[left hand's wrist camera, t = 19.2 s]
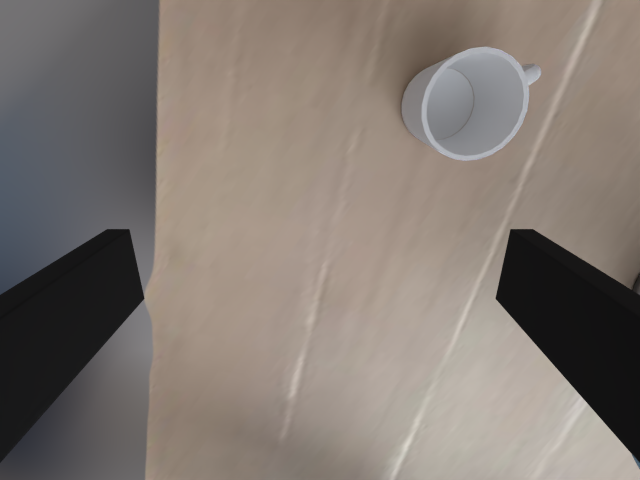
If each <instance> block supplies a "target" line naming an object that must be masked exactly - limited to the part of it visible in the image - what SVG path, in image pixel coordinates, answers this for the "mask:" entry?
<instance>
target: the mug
mask: <svg viewBox="0 0 640 480" xmlns="http://www.w3.org/2000/svg"><path fill="white" fill-rule="evenodd" d="M540 75H541V69H540V67H539V66H538V65H535V64H528V65H524V66H521V65H520V64H519V63H518V62H517V61H516V60H515V59H514V58H513V56H511V55H509V54H507V53H506V52H504V51H502V50H500V49H495V48H490V47H478V48H470V49H468V50H465V51H463V52H460V53H458V54H455V55H453V56H451V57H449V58H447V59H445V60H443V61H440V62H438V63H436V64H434V65H432V66H430V67H428V68H426V69H424V70H422V71H421V72H420V73H418V74H417V75H415V77H414V78H413V79H412V80H411V81H410V83H409V84H408V86H407V88H406V90H405V92H404V94H403V98H402V102H401V114H402V118H403V122H404V124H405V126H406V127H407V129H408V131H409V132H410V133H411V134H412V135H413V136H415V137H416V138H418V139H419V140H421V141H422V142H424V143H425V144H427V145H429V146H430V147H432V148H433V149H435V150H436V151H438V152H440V153H442V154H444V155H446V156H448V157H450V158H452V159H457V160H463V161H468V160H478V159H481V158H484V157H487V156H489V155H492V154H493V153H495V152H496V151H498V150H500V149H501V148H503V147H504V146H505V145H506V144H507V143H508V142H509V141H510V140H511V139H512V138H513V137H514V136H515V134H516V133H517V131H518V129H519V128H520V126H521V125H522V123H523V120H524V117H525V115H526V112H527V109H528V101H529V88H528V85H530V84H532V83H533V82H535V81H536V80H537V79H538V78H539V77H540Z"/></svg>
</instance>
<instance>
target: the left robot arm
mask: <svg viewBox="0 0 640 480" xmlns="http://www.w3.org/2000/svg"><path fill="white" fill-rule="evenodd" d="M143 300H144V295H143V290H142V285H141V281H140V276H139V272H138V267H137V263H136V258H135V253H134V248H133V244H132V239H131V235H130V230H129V229H107V230H105V231H104V232H102V233H100V234H99V235H97V236H95V237H94V238H92V239H91V240H89V241H87V242H86V243H84V244H82V245H81V246H79V247H77V248H76V249H74V250H73V251H71V252H69V253H68V254H66V255H64V256H63V257H61V258H60V259H58V260H56V261H55V262H53V263H51V264H50V265H48V266H47V267H45V268H43V269H42V270H40V271H39V272H37V273H35V274H34V275H32V276H30V277H29V278H27V279H25V280H24V281H22V282H21V283H19V284H17V285H16V286H14V287H12V288H11V289H9V290H8V291H6V292H4V293H3V294H1V295H0V462H1V461H2V460H3V459H4V458H5V457H6V456H7V454H8V453H9V452H10V451H11V450H12V449H13V448H14V447H15V445H16V444H17V443H18V442H19V441H20V440H21V439H22V437H23V436H24V435H25V434H26V433H27V432H28V431H29V429H30V428H31V427H32V426H33V425H34V424H35V423H36V421H37V420H38V419H39V418H40V417H41V416H42V415H43V413H44V412H45V411H46V410H47V409H48V408H49V407H50V405H51V404H52V403H53V402H54V401H55V400H56V399H57V397H58V396H59V395H60V394H61V393H62V392H63V391H64V389H65V388H66V387H67V386H68V385H69V384H70V383H71V382H72V380H73V379H74V378H75V377H76V376H77V375H78V374H79V372H80V371H81V370H82V369H83V368H84V367H85V366H86V364H87V363H88V362H89V361H90V360H91V359H92V358H93V357H94V355H95V354H96V353H97V352H98V351H99V350H100V349H101V347H102V346H103V345H104V344H105V343H106V342H107V341H108V339H109V338H110V337H111V336H112V335H113V334H114V333H115V331H116V330H117V329H118V328H119V327H120V326H121V325H122V323H123V322H124V321H125V320H126V319H127V318H128V317H129V315H130V314H131V313H132V312H133V311H134V310H135V309H136V308H137V306H138V305H139V304H140V303H141V302H142V301H143ZM496 300H497V301H498V302H499V303H500V304H501V305H502V306H503V308H504V309H505V310H506V311H507V312H508V313H509V314H510V315H511V317H512V318H513V319H514V320H515V321H516V322H517V323H518V325H519V326H520V327H521V328H522V329H523V330H524V331H525V333H526V334H527V335H528V336H529V337H530V338H531V339H532V341H533V342H534V343H535V344H536V345H537V346H538V347H539V349H540V350H541V351H542V352H543V353H544V354H545V355H546V357H547V358H548V359H549V360H550V361H551V362H552V363H553V364H554V366H555V367H556V368H557V369H558V370H559V371H560V372H561V374H562V375H563V376H564V377H565V378H566V379H567V380H568V382H569V383H570V384H571V385H572V386H573V387H574V388H575V390H576V391H577V392H578V393H579V394H580V395H581V396H582V398H583V399H584V400H585V401H586V402H587V403H588V404H589V405H590V407H591V408H592V409H593V410H594V411H595V412H596V413H597V415H598V416H599V417H600V418H601V419H602V420H603V421H604V423H605V424H606V425H607V426H608V427H609V428H610V429H611V431H612V432H613V433H614V434H615V435H616V436H617V437H618V439H619V440H620V441H621V442H622V443H623V444H624V445H625V447H626V448H627V449H628V450H629V451H630V452H631V453H632V456H633V458H634V460H635V462H636V464H637V465H638V467H639V469H640V275H639V277H638V279H637V281H636V283H635V285H634V288H633V291H632V290H631V289H629V288H628V287H626V286H624V285H623V284H621V283H619V282H618V281H616V280H615V279H613V278H611V277H610V276H608V275H606V274H605V273H603V272H602V271H600V270H598V269H597V268H595V267H593V266H592V265H590V264H589V263H587V262H585V261H584V260H582V259H580V258H579V257H577V256H576V255H574V254H572V253H571V252H569V251H567V250H566V249H564V248H563V247H561V246H559V245H558V244H556V243H554V242H553V241H551V240H549V239H548V238H546V237H545V236H543V235H541V234H540V233H538V232H536V231H535V230H533V229H511V230H510V235H509V239H508V244H507V248H506V253H505V258H504V262H503V267H502V272H501V276H500V281H499V285H498V290H497V295H496Z"/></svg>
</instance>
